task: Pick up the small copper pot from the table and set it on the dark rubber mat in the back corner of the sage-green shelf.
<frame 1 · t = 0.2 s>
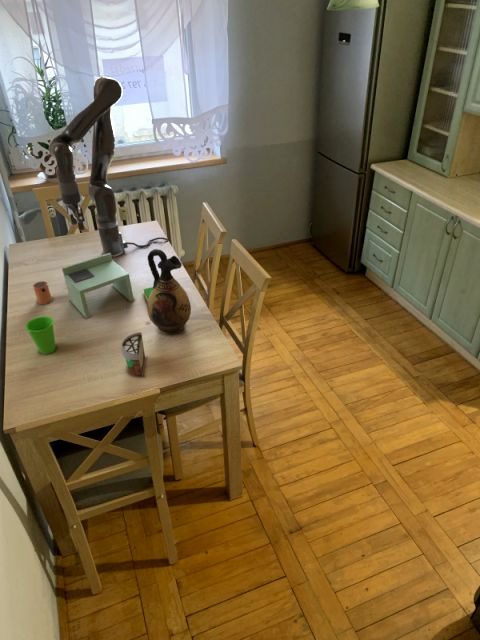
hand: (78, 227, 205), 17 cm above the table, tool pointing down, fingers open, 8 cm apart
copper pot: (45, 300, 187), on the table
shelf: (102, 300, 186), on the table
cup: (48, 350, 161), on the table
food container: (134, 368, 152), on the table
ceramic jug: (170, 326, 171), on the table
dish sponge: (156, 300, 186), on the table
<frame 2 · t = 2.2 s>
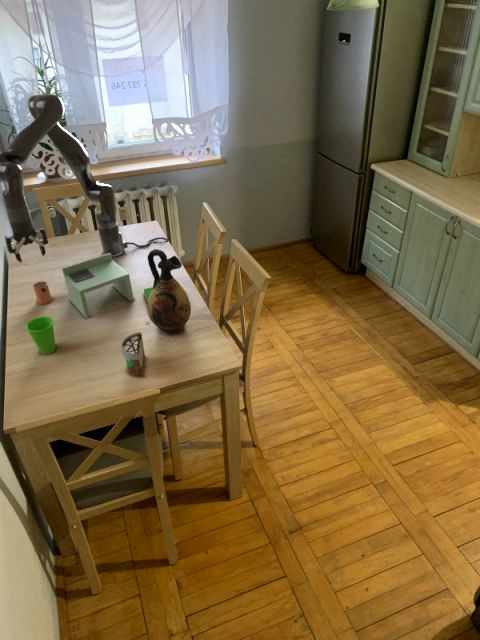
hand: (32, 258, 177), 19 cm above the table, tool pointing down, fingers open, 8 cm apart
nothing on the table moved.
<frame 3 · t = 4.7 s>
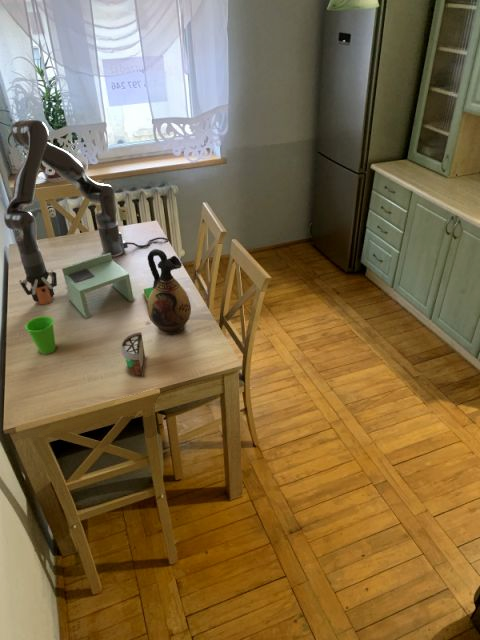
hand: (44, 298, 187), 1 cm above the table, tool pointing down, fingers closed on copper pot, 5 cm apart
copper pot: (45, 300, 187), on the table, touching gripper
everything else where it was.
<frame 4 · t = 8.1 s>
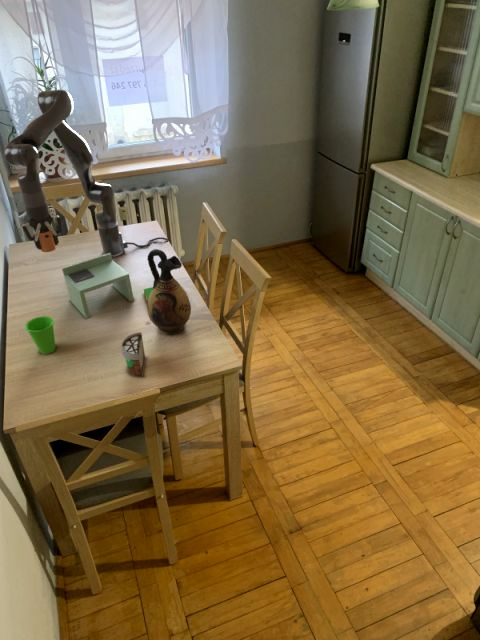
hand: (48, 246, 173), 24 cm above the table, tool pointing down, fingers closed on copper pot, 5 cm apart
copper pot: (48, 249, 173), point 23 cm above the table, touching gripper
everything else where it was.
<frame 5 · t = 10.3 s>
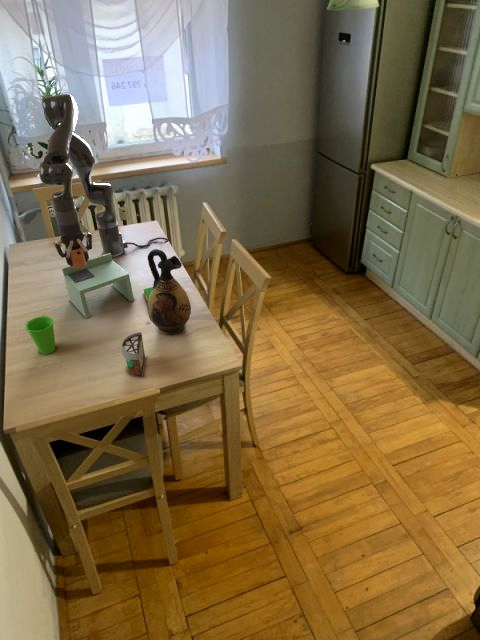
hand: (78, 262, 175), 18 cm above the table, tool pointing down, fingers closed on copper pot, 5 cm apart
copper pot: (79, 265, 175), point 17 cm above the table, touching gripper
everything else where it was.
when the fingers open (13 cm above the table, at t = 12.0 s): copper pot stays where it is, resting on shelf.
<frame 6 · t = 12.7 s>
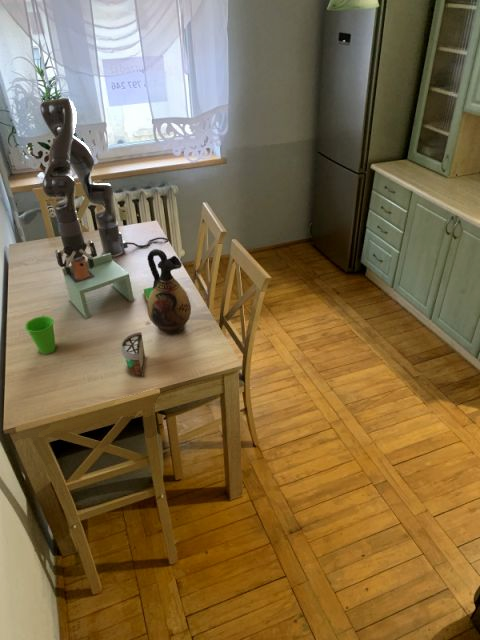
hand: (80, 271, 177), 15 cm above the table, tool pointing down, fingers open, 8 cm apart
copper pot: (82, 276, 178), point 12 cm above the table, touching shelf
everything else where it was.
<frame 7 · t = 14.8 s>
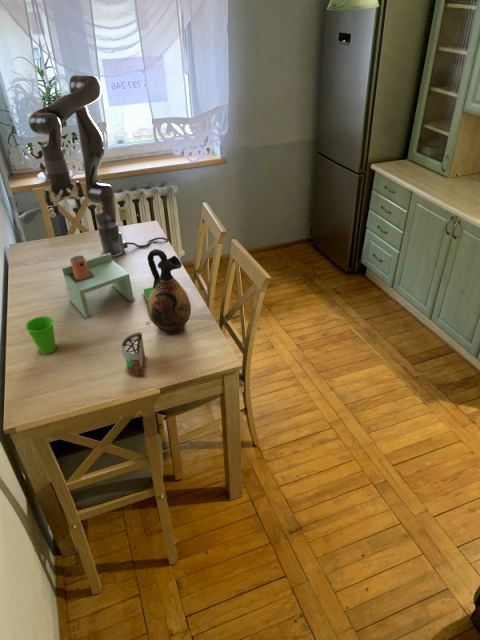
hand: (68, 211, 183), 31 cm above the table, tool pointing down, fingers open, 8 cm apart
nothing on the table moved.
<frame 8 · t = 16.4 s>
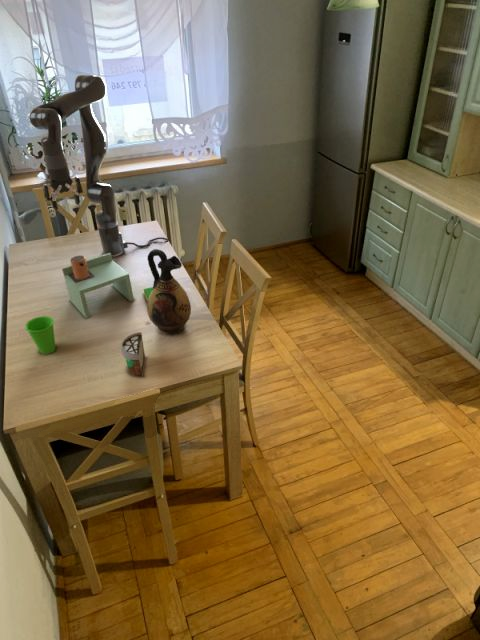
hand: (67, 206, 184), 32 cm above the table, tool pointing down, fingers open, 8 cm apart
nothing on the table moved.
at the end: copper pot 0.0 cm from the target spot on the shelf, point 12.3 cm above the shelf's base; copper pot tilted 0°; the gripper is holding nothing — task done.
